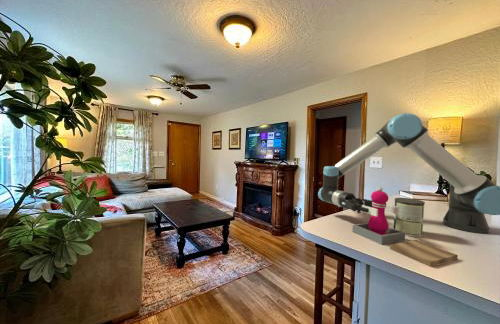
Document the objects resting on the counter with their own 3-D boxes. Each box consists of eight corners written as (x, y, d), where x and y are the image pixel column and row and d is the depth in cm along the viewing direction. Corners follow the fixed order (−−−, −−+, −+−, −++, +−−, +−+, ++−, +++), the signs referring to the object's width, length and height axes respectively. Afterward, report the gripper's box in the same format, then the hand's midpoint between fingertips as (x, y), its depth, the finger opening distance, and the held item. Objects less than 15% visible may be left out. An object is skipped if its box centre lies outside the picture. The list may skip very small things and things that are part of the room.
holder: (374, 228, 92) (374, 222, 92) (404, 240, 80) (405, 232, 80) (352, 231, 87) (352, 224, 87) (381, 244, 75) (381, 236, 75)
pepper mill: (387, 235, 85) (390, 187, 84) (388, 241, 79) (391, 189, 78) (367, 231, 89) (370, 185, 88) (366, 236, 82) (369, 187, 82)
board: (415, 243, 77) (415, 239, 77) (457, 259, 66) (457, 254, 65) (390, 248, 72) (390, 244, 72) (430, 266, 61) (430, 261, 60)
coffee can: (388, 227, 94) (389, 197, 94) (411, 228, 93) (413, 198, 93) (402, 236, 84) (404, 202, 84) (429, 237, 83) (431, 203, 83)
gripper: (361, 205, 104) (407, 218, 84) (324, 208, 96) (365, 224, 75) (362, 191, 104) (408, 200, 84) (325, 192, 96) (366, 203, 75)
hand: (388, 211), depth 80 cm, fingers open, 11 cm apart
